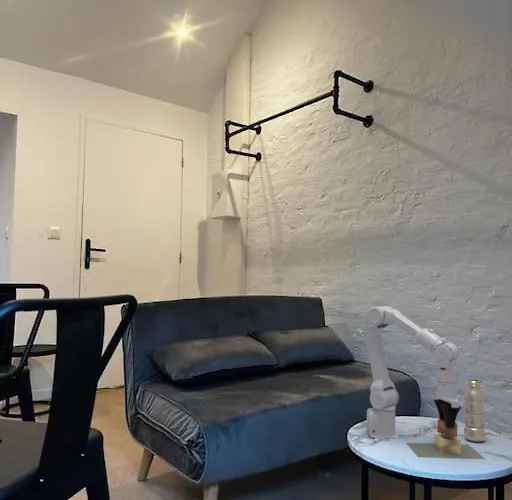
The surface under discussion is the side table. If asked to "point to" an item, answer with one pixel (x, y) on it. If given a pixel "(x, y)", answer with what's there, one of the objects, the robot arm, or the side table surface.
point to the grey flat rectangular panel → (431, 452)
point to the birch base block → (447, 444)
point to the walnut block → (448, 430)
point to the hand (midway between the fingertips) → (447, 425)
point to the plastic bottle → (474, 412)
